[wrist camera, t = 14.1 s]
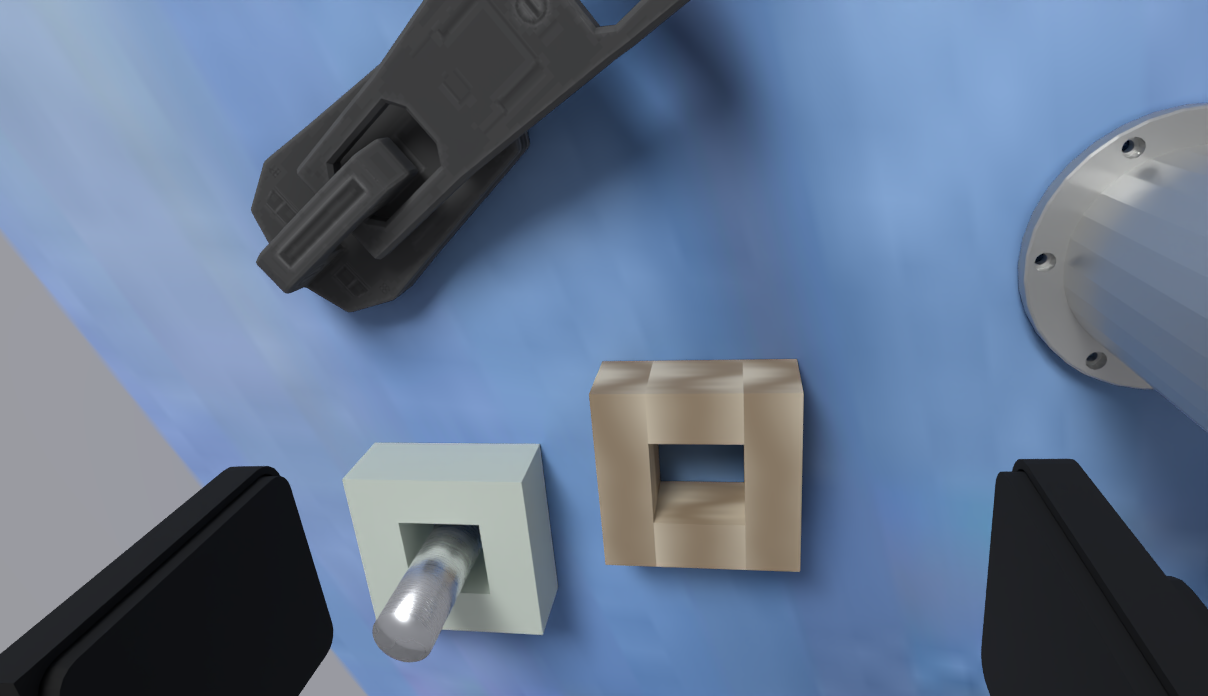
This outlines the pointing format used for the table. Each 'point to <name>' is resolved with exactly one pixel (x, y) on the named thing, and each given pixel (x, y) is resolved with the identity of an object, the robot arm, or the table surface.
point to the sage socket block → (459, 496)
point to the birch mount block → (699, 509)
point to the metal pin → (427, 592)
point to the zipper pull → (426, 140)
